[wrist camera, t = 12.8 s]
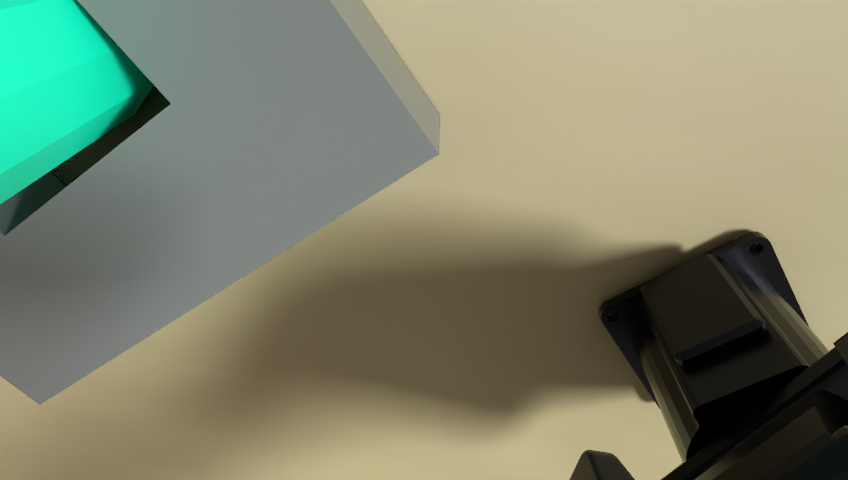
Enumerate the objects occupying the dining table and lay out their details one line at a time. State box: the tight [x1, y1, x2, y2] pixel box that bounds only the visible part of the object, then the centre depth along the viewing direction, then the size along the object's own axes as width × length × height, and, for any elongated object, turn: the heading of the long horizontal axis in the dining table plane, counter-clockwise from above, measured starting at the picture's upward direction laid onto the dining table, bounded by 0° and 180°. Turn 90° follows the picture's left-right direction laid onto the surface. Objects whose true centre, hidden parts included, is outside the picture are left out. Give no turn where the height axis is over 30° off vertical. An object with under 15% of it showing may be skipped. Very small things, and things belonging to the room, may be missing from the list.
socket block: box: [0, 0, 440, 405], centre depth 17 cm, size 18×18×4 cm
